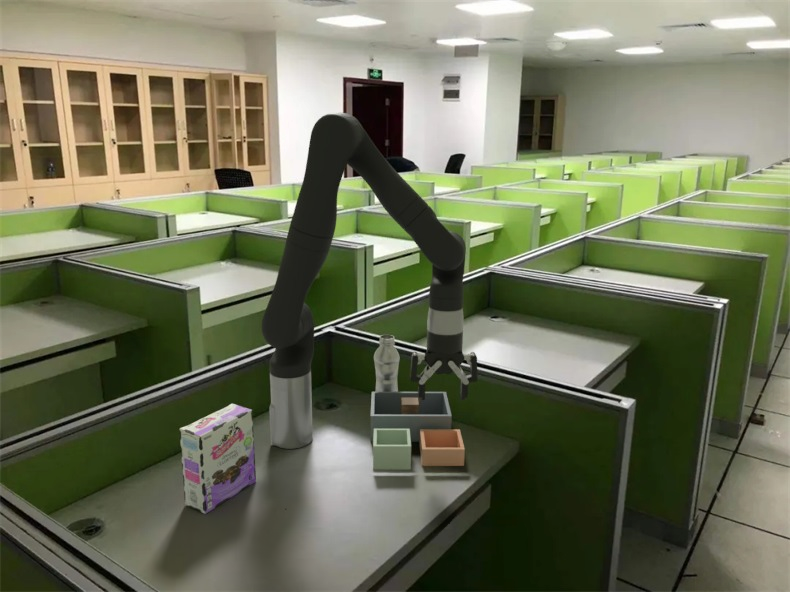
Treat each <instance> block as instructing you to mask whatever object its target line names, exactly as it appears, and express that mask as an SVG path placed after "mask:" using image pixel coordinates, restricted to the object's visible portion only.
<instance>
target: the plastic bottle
mask: <svg viewBox="0 0 790 592" xmlns="http://www.w3.org/2000/svg"><path fill="white" fill-rule="evenodd" d="M378 342H379V343H378V344H379V346H378V347H377V349H376V350H375V352H374V355H373V361H374V362H373V363H374V368H375V380H376V381H375V391H374V392H399V389H398V388H399V386H398V376H399V375H398V373H399V364H400V357H401V356H400V354H399V353H400V352H398V350H397V349H396V347H395V345H396V342H395V336H394V335H392V334H381V335H380V336H379V340H378Z"/></svg>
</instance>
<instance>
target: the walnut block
mask: <svg viewBox="0 0 790 592" xmlns="http://www.w3.org/2000/svg"><path fill="white" fill-rule="evenodd" d="M401 414H408V415H419V402H418V398H401Z"/></svg>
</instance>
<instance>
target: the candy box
mask: <svg viewBox="0 0 790 592" xmlns="http://www.w3.org/2000/svg"><path fill="white" fill-rule="evenodd" d="M253 419H254V417H253V409H251V408H247V407H245V406H242V405H240V404H239V405H238V404H235V403H230V404H229V405H227V406H225V407H223V408H221V409H219V410H216V411H214V412H212V413H210V414H208V415H207V416H204V417H202V418H199V419H198V420H196V421H194V422H192V423H189V424H188V425H185V426H182V427H180V428H179V431H178V432H179V441H180V455H181V457H180V458H181V466H182V467H181V469H182V479H183V480H182V482H183V496H184V498H183V499H184V505H185V506H188V507H190V508H192V509H194V510H196V511H198V512H200V513H203V514H204V515H206V514H208V513H209V512H211V511H213V510H214V509H216V508H217V507H218V506H220V505H222V504H223V503H225V502H226V501H228V500H230V499H231V498H232V497H234V496H235V495H237V494H239V493H240V492H242V491H243V490H245V489H246V488H248V487H250V486H251V485H253V484H254V483H256V482H257V473H256V457H255V455H256V454H255V438H254V421H253Z"/></svg>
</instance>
